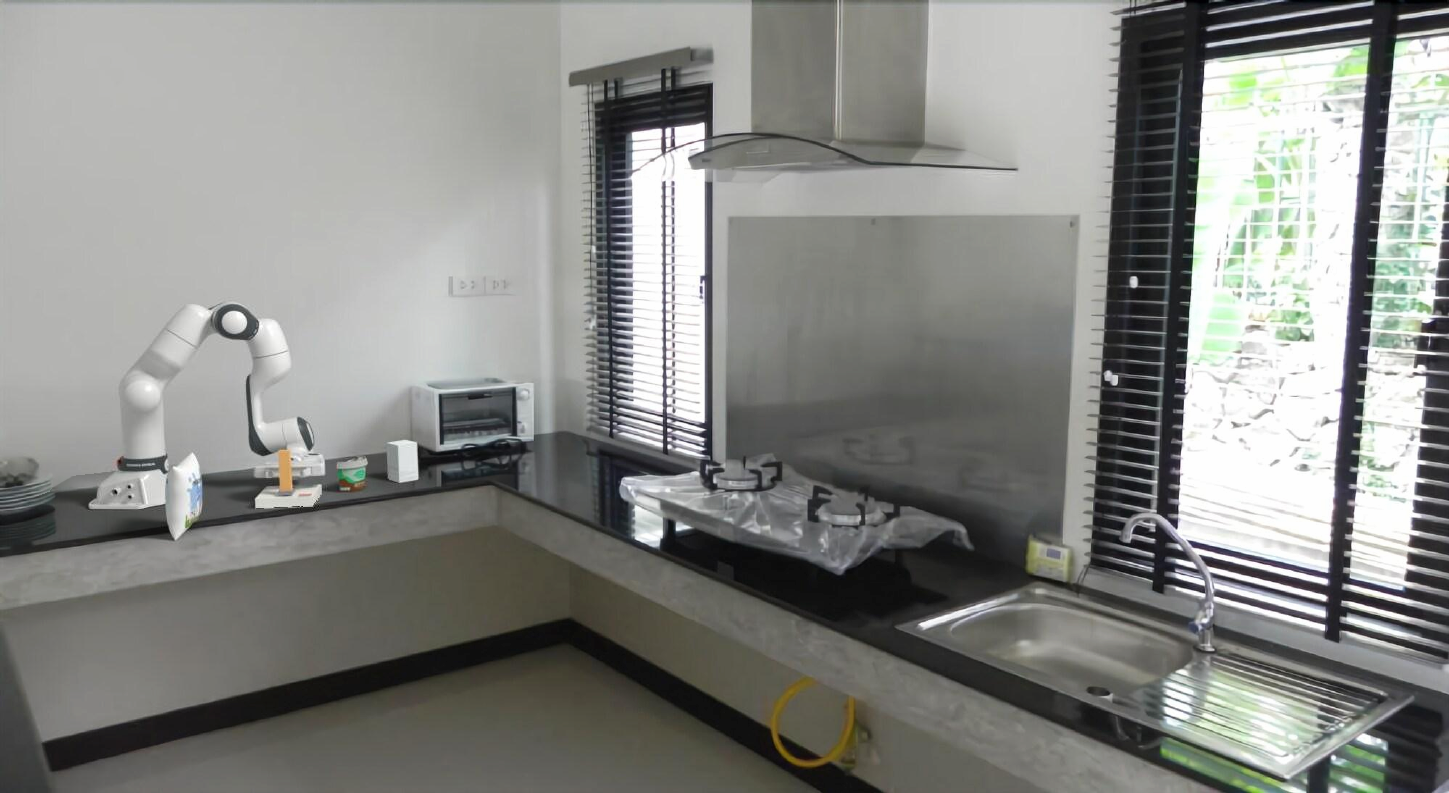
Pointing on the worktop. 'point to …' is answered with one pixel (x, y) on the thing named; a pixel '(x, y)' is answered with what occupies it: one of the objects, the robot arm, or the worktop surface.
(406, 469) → the supplement box
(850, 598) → the worktop surface
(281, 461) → the handle
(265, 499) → the white flat block
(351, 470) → the food container
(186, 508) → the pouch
